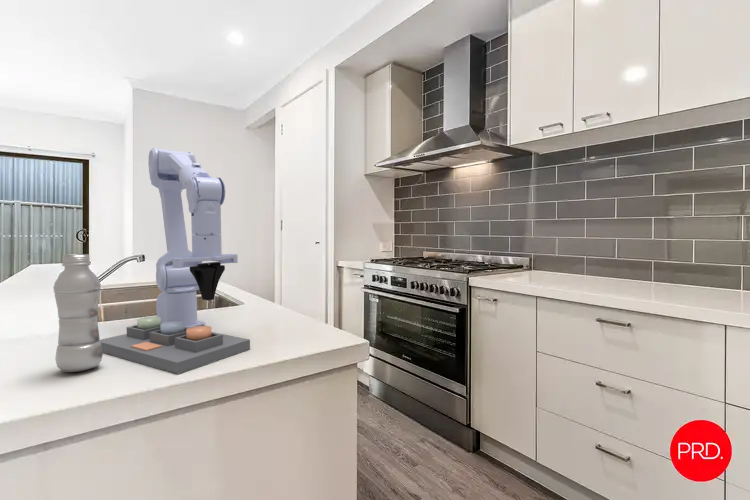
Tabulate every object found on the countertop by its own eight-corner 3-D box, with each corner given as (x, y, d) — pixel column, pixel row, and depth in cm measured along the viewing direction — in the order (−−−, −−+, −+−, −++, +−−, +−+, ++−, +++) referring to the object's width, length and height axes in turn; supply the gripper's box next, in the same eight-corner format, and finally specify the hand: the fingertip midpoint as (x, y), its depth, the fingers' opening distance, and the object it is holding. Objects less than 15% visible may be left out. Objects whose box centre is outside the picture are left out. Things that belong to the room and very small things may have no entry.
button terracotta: (181, 340, 76) (181, 329, 76) (201, 334, 80) (201, 324, 80) (196, 343, 74) (196, 332, 74) (216, 337, 78) (216, 327, 78)
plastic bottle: (72, 364, 73) (67, 253, 72) (111, 363, 73) (107, 253, 72) (46, 377, 66) (40, 256, 65) (89, 376, 67) (84, 256, 66)
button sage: (132, 329, 84) (132, 319, 84) (153, 324, 88) (152, 315, 88) (145, 331, 82) (144, 322, 82) (165, 327, 86) (165, 318, 86)
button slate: (155, 334, 80) (155, 324, 80) (176, 329, 84) (175, 319, 84) (169, 337, 78) (169, 327, 78) (189, 332, 82) (189, 322, 82)
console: (95, 350, 81) (95, 331, 80) (170, 332, 95) (169, 315, 94) (177, 374, 68) (177, 351, 68) (250, 349, 82) (249, 330, 82)
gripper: (188, 235, 76) (189, 307, 77) (246, 234, 89) (247, 295, 90) (165, 235, 80) (166, 303, 80) (224, 234, 92) (225, 293, 93)
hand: (208, 299), depth 85 cm, fingers closed
